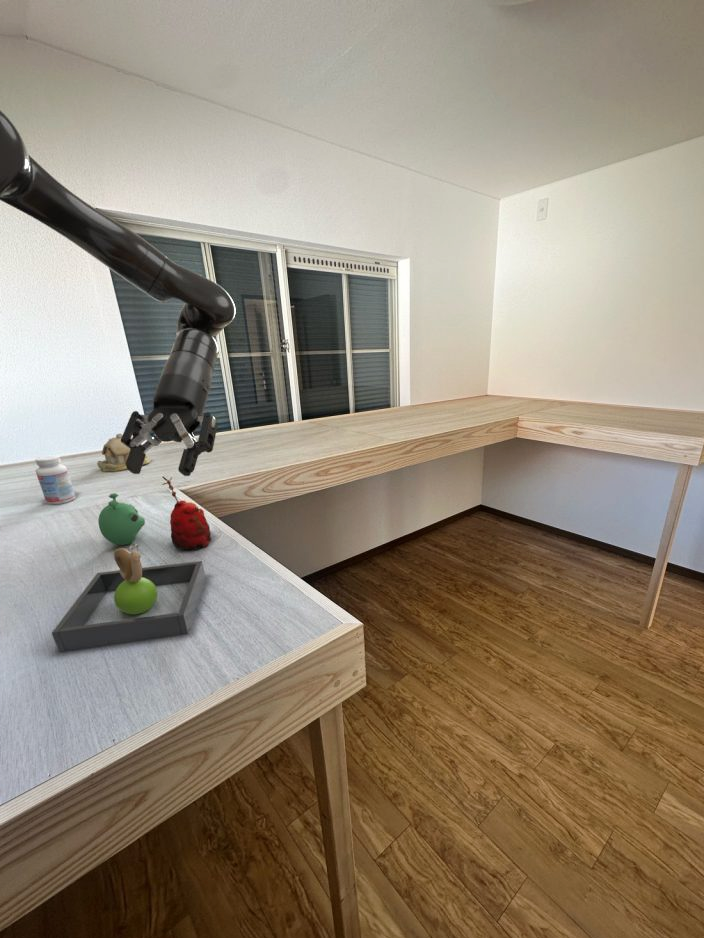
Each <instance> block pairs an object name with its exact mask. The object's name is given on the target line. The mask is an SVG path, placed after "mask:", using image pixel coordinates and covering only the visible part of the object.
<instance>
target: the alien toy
mask: <svg viewBox="0 0 704 938" xmlns="http://www.w3.org/2000/svg"><path fill="white" fill-rule="evenodd" d="M118 496H119V494H118V493H116V492H114V493H110V494H109V495H108V497H109V498H110V499H112V500H110V501H109V502H108V503H107V504H108V505H106V506H104V507H103V509H102V510H101V511H100V513H99V516H98V519H97V520H98V521H97V522H98V528H99V531H100V533H101V535H102V537H104V539H105V540H106V541H108V542H109V543H111V544H114V545H118V546H125V545H129V544H131V543H133V542H134V541H136V540H137V539H138V538H139V536H140V534H139V533H140V530H142V528H143V527H144V525H145V524H146V520H145V517H143V516H140V515H139V511H138V510H137V509H136V508H135V506H134V505H132V504H131V503H130V504H129V503H126V502H118V501H117V498H118Z"/></svg>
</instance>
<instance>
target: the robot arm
mask: <svg viewBox="0 0 704 938" xmlns="http://www.w3.org/2000/svg"><path fill="white" fill-rule="evenodd" d="M0 201H1V202H3V203H5V204H6V205H9V206H10V207H13V208H15V209H16V210H17V211H20V212H22V213H24V214H26V215H27V216H29V217H31V218H33V219H34V220H37V221H38V222H40V223H42V224H43V225H45V226H46V227H48V228H50V229H51V230H53V231H55V232H56V233H58V234H59V235H61V236H62V237H64V238H66V239H67V240H68V241H70V242H71V243H73V244H74V245H76V246H77V247H79V248H80V249H81V250H83V251H84V252H86V253H87V254H88V255H90V256H92V257H93V258H94V259H95V260H97V261H99V262H100V263H101V264H103V265H104V266H105V267H107V268H108V269H110V270H111V271H112V272H114V273H115V274H117V275H118V276H119V277H121V278H123V280H125V281H127V282H128V283H129V284H131V285H133V286H134V287H135V288H137V289H138V290H140V291H141V292H143V293H144V294H146V295H147V296H149V298H152V299H153V300H155V301H156V302H159V303H166V302H169V301H171V300H178V301H180V302H183V303H184V304H183V305H182V307H181V310H180V312H179V313H178V318H177V323H176V337H175V339H174V342H173V345H172V348H171V351H170V353H169V356H168V358H167V360H166V362H165V364H164V366H163V369H162V372H161V375H160V376H159V377H160V378H159V381H158V383H157V386H156V389H155V392H154V395H153V397H152V403H153V409H152V411H150V413H149V414H141V413H140V412H139V411H138V410H134V411H132V412H131V414H130V417H129V419H128V422H127V424H126V426H125V429H124V431H123V432H122V438H121V442H122V443H123V444H125V445H126V446H127V447H128V448H130V452H129V455H128V458H127V461H126V467H127V471H129V472H130V473H132V474H133V475H140V474H141V472H142V468H143V465H144V464H143V462H144V459H145V456H146V455H147V454H146V453H147V452H148V451H149V450H150V449H152V448H153V447H158V446H159V445H160V444H161V443H163V442H164V443H168V442H176V443H182V441H183V443H184V446H185V447H186V448H183V451H182V454H181V457H180V461H179V464H178V469H177V470H178V472H179V473H180V474H181V475H183V477H190V476H191V474H192V473H193V472H194V471H195V469H196V465H197V461H198V458H199V456H200V455H201V454H202V453H205V452H206V453H211V452H213V450H214V446H215V440H216V435H217V430H218V424H219V422H218V420H217V419H216V418H215V416H213V415H212V413H211V412H208V411H207V412H204V411H205V408H206V404H207V400H208V397H209V393H210V391H211V386H212V381H213V373H214V371H215V370H214V369H215V366H216V362H217V359H218V356H219V347H218V344H217V341H216V337H217V336H218V334H219V333H220V332H222V331H223V330H224V329H225V328H227V326H228V325H230V324H231V322H233V320H234V318H235V315H236V306H235V303H234V301H233V299H232V297H231V296H230V294H229V293H228V292H227V291H226V290H225V289H224V288H223V287H222V286H221V285H219V284H218V283H216V282H215V281H213V280H211V279H209V278H207V277H205V276H203V275H201V274H199V273H196V272H195V271H193V270H190V269H189V268H186V267H184V266H182V265H180V264H177V263H176V262H174V261H173V260H171V259H170V258H169V257H167V255H166V254H164V253H162V252H161V251H160V250H159V249H158V248H156V247H155V246H153V245H152V244H150V242H148V241H147V240H145V239H144V238H143V237H142V236H140V235H139V234H137V233H135V232H134V231H133V230H131V229H130V228H128V227H126V226H125V225H124V224H122V223H120V222H119V221H117V220H115V219H114V218H112V217H111V216H108V215H107V214H105V213H104V212H102V211H100V210H98V209H97V208H95V207H93V206H92V205H91V204H90V203H87V202H86V201H84V200H83V199H81V198H80V197H79V196H77V195H76V194H75V193H73V192H72V191H70V190H69V189H68V188H67V187H66V186H64V185H63V184H62V183H61V182H59V181H58V180H57V179H56V178H55V177H54V176H52V175H51V174H50V173H49V172H48V171H47V170H46V169H45V168H44V167H43V166H41V165H40V164H39V163H38V162H37V161H36V160H35V159H34V158H33V157H32V156H31V155H30V154H29V152H28V149H27V147H26V144H25V142H24V140H23V138H22V136H21V134H20V132H19V130H18V129H17V128H16V126H15V125H14V123H13V122H12V121H11V119H9V117H8V116H7V115H6V113H4V112H3V111H2V110H0ZM199 427H200V429H199V436H198V439H196V437H195V435H194V432H195V431H196V430H197V429H198V428H199ZM151 433H153V434H154V437H152V436H151V435H150V434H151ZM131 438H132V439H131ZM142 443H143V444H142Z"/></svg>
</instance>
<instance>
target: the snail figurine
mask: <svg viewBox="0 0 704 938" xmlns="http://www.w3.org/2000/svg"><path fill="white" fill-rule="evenodd" d="M138 548H139V544H138V543H135V544H134V545H133V546H132V545H131V546H129V547H128V549H126V548H124V547H119V548H117V549H115V550H114V552H113V558H114V562H115V563H116V566H117V567H118V568H119V570H118V571H120V574H121V576H122V577H123V578H124V579H125V581H123V582H122V583H121V584H120V585H119V586H118V587H117V589H116V591H114V595H113V601H114V604H115V606H116V608H118V610H119V611H121V612H122V613H124V614H127V615H133V616H134V615H141V614H143V613H146V612H147V611H149V610H150V609H151V608H152V607H154V605H155V603H156V601H157V598H158V589H157V586H155V585H154V584H153V583H152V582H151V581H150V580H148V579H146V578H143V577H142V568H143V565H142V562H141V554H140V553H139V550H138ZM134 549H136V551H133V550H134ZM130 551H131V552H130Z"/></svg>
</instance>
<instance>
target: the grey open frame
mask: <svg viewBox="0 0 704 938" xmlns="http://www.w3.org/2000/svg"><path fill="white" fill-rule="evenodd" d="M142 577H143V578H146V579H148V580H150V581H151V582H152V583H153V584H154V585H155V587H160V586H166V585H167V586H168V585H174V584H183V583H188V585H187V588H186V591H185V594H184V597H183V599H182V603H181V604H180V607H179V610H178V612H172V613H165V614H158V615H157V614H156V615H150V616H142V617H135V618H128V619H127V618H126V619H120V620H112V621H106V622H105V621H104V622H98V623H91V624H90V623H89V624H86V623H87V622H88V620H89V619H90V618H91V616H92V614H93V613H94V612H95V610H96V609H97V607H98V606H99V604H100V602H102V600H103V598H104V596H105V595H106V594H107V593H109V592H115V591H116V589H117V587H118V586H119V585H120V584H121V583H122V582H123V581H125V579H124V578H123V577H122V576H121V574H120V571H119V570H111V571H103V572H97V573H96V574H95V575H94V577H93V578H92V579H91V581H89V583H88V585H87V586H86V587H85V588H84V590H83V591H82V592H81V593H80V595H79V596H78V598H77V599H76V600H75V602H74V603H73V604H72V605H71V607H70V608H69V609H68V610H67V612H66V614H64V616H63V617H62V619H61V620H60V621H59V622H58V624H57V625H56V626H55V628H54V629H53V631H52V632H51V636H52V638H53V640H54V643H55V645H56V647H57V650H58V653H59V654H60V653H67V652H75V651H81V650H82V651H83V650H88V649H95V648H102V647H108V646H109V647H110V646H116V645H122V644H131V643H136V642H143V641H151V640H158V639H163V638H165V639H166V638H172V637H178V636H185V635H189V633H190V629H191V627H192V623H193V620H194V617H195V614H196V610H197V607H198V603H199V601H200V598H201V594H202V591H203V588H204V584H205V582H206V578H207V577H206V573H205V568H204V563H203V561H201V560H200V561H199V560H198V561H190V562H182V563H172V564H165V565H155V566H147V567H142Z"/></svg>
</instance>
